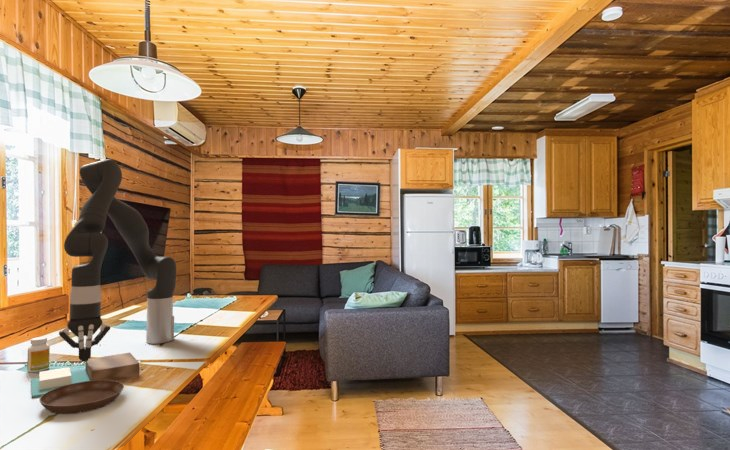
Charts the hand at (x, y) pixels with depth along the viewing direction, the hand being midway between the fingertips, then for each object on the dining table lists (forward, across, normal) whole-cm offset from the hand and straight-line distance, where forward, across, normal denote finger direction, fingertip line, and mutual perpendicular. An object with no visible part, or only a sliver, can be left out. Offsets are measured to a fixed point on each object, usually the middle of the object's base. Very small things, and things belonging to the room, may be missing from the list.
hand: (84, 360), depth 122 cm
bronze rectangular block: (+6, -7, 0) cm, 9 cm away
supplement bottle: (+6, +10, -19) cm, 22 cm away
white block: (+2, +7, 0) cm, 7 cm away
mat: (+6, +6, 0) cm, 8 cm away
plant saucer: (+6, +2, +19) cm, 20 cm away
